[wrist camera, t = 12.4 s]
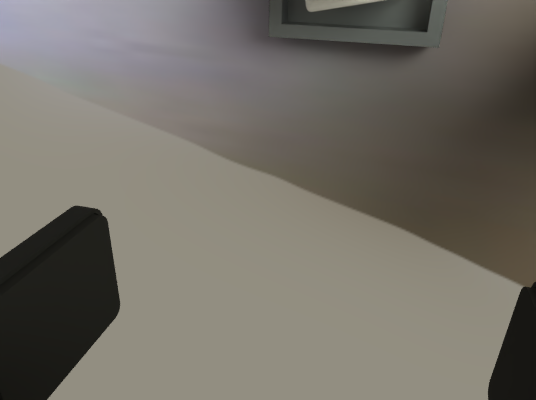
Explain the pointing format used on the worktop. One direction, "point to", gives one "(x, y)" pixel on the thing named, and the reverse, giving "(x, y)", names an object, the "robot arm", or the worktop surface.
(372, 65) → the worktop surface
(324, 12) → the tray
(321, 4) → the medicine bottle
